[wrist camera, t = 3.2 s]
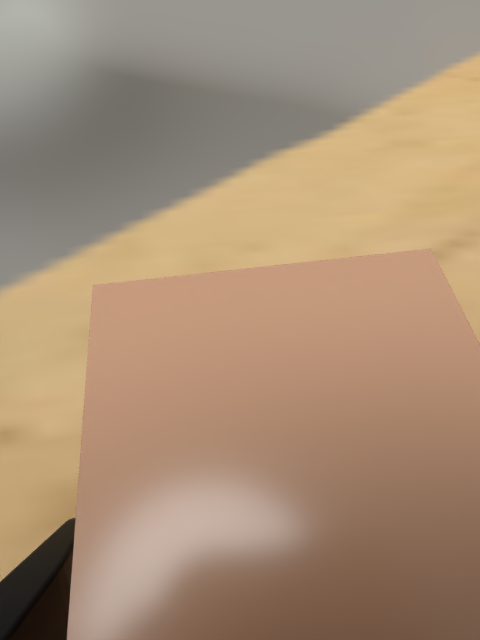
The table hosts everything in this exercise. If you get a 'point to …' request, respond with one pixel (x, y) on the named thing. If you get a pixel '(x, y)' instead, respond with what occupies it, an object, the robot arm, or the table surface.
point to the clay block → (280, 457)
